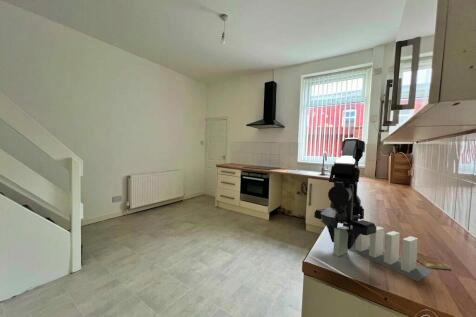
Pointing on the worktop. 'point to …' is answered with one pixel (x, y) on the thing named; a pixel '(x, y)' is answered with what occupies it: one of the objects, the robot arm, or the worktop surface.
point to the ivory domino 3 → (391, 247)
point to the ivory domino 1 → (362, 242)
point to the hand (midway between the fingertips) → (340, 245)
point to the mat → (394, 265)
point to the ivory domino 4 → (409, 253)
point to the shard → (431, 262)
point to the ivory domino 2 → (376, 242)
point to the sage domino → (340, 241)
